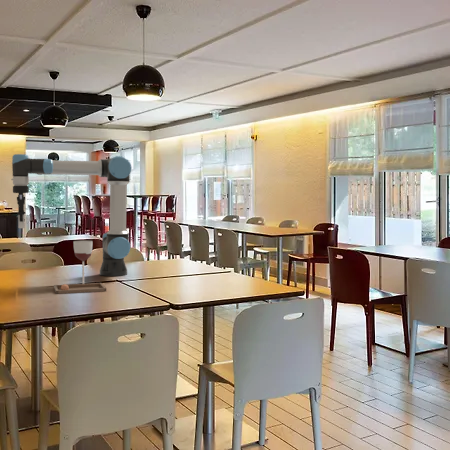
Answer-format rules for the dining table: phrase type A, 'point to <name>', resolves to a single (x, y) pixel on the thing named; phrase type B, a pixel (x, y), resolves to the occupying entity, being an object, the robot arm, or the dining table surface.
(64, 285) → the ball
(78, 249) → the wineglass
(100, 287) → the tray
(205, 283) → the dining table surface
